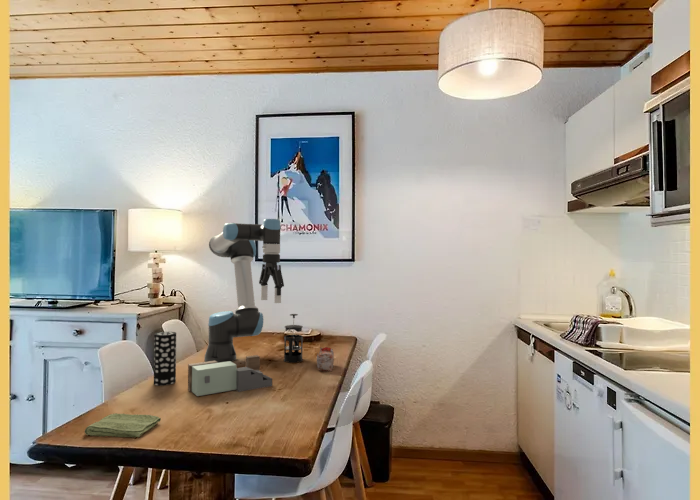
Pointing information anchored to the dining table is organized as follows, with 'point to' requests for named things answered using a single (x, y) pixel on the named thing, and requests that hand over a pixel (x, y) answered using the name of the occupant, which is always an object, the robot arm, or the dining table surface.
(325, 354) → the food item
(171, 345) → the spotted tube
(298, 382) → the dining table surface
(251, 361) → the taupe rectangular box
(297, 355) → the french press
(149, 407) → the dining table surface
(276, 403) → the dining table surface
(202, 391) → the pale green box
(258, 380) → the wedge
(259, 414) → the dining table surface
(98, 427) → the washcloth
